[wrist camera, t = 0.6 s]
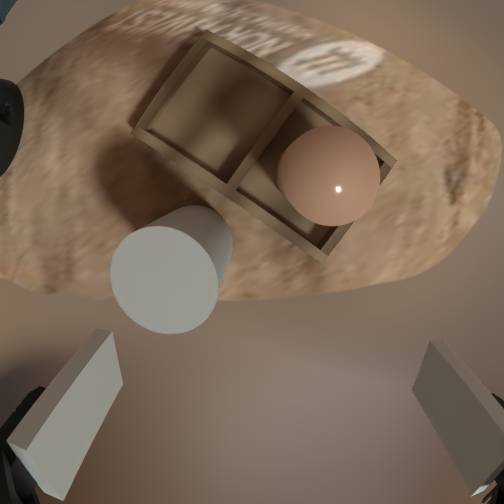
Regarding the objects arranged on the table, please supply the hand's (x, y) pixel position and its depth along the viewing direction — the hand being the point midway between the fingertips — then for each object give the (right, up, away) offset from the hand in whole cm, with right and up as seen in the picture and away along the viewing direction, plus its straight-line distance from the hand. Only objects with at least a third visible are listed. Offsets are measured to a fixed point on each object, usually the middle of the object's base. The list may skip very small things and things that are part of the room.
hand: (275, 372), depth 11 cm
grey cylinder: (-7, +6, +21) cm, 23 cm away
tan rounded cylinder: (+5, +12, +18) cm, 23 cm away
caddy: (0, +16, +18) cm, 24 cm away
